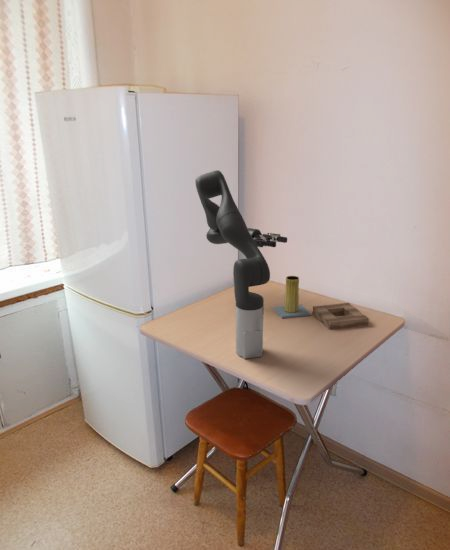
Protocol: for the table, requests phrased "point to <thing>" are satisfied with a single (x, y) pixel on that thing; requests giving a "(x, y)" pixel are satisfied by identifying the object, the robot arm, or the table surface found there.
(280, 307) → the slate mat
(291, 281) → the vase
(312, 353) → the table surface
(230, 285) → the table surface
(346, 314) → the socket stand
